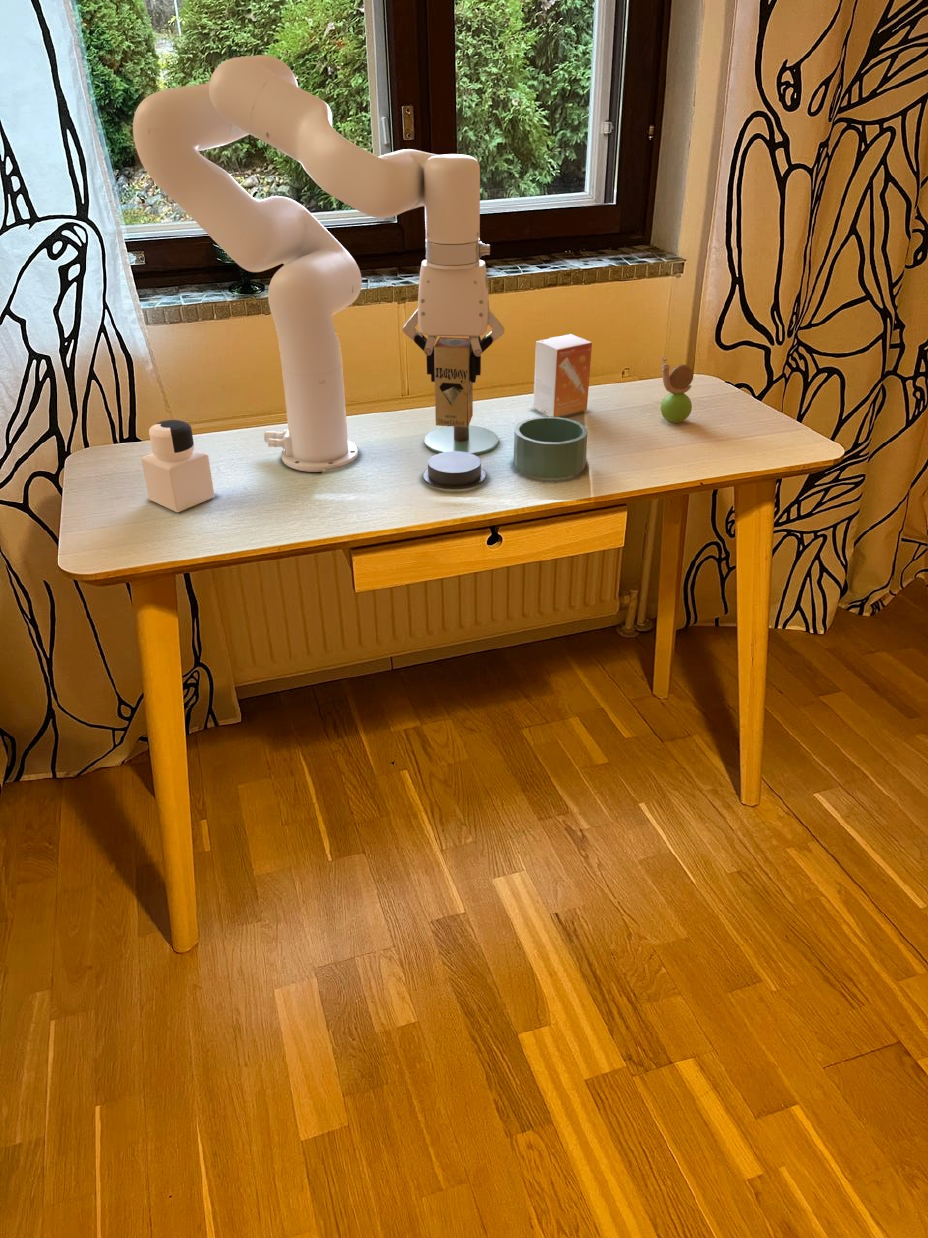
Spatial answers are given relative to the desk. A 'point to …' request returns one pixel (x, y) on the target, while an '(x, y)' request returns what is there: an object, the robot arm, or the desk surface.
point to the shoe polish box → (453, 382)
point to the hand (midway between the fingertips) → (453, 378)
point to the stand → (454, 470)
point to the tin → (550, 447)
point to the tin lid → (461, 439)
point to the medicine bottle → (176, 467)
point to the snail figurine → (676, 392)
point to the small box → (562, 375)
